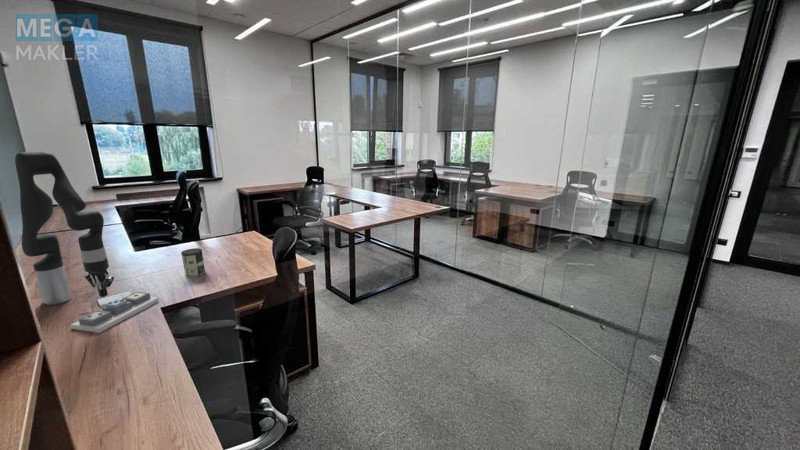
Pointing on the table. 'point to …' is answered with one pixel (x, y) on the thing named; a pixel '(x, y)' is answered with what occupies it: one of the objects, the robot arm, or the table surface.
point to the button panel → (115, 314)
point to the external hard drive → (112, 298)
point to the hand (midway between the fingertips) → (103, 296)
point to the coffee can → (193, 262)
